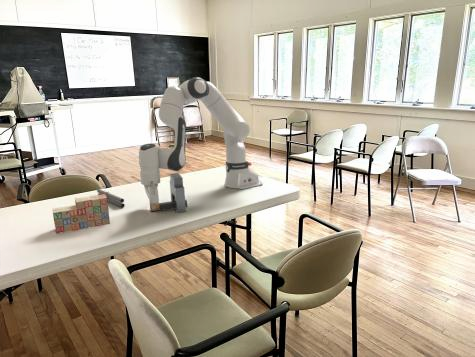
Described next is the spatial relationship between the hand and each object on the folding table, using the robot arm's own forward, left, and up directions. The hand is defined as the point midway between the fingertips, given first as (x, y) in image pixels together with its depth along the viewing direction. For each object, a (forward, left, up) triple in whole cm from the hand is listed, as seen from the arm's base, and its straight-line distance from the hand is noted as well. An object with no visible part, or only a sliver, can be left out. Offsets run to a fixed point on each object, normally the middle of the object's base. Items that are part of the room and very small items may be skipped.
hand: (152, 207), depth 168 cm
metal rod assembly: (+19, -23, -2) cm, 29 cm away
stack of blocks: (+30, +7, -2) cm, 31 cm away
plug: (-8, 0, -2) cm, 8 cm away
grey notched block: (-12, 0, -2) cm, 12 cm away
